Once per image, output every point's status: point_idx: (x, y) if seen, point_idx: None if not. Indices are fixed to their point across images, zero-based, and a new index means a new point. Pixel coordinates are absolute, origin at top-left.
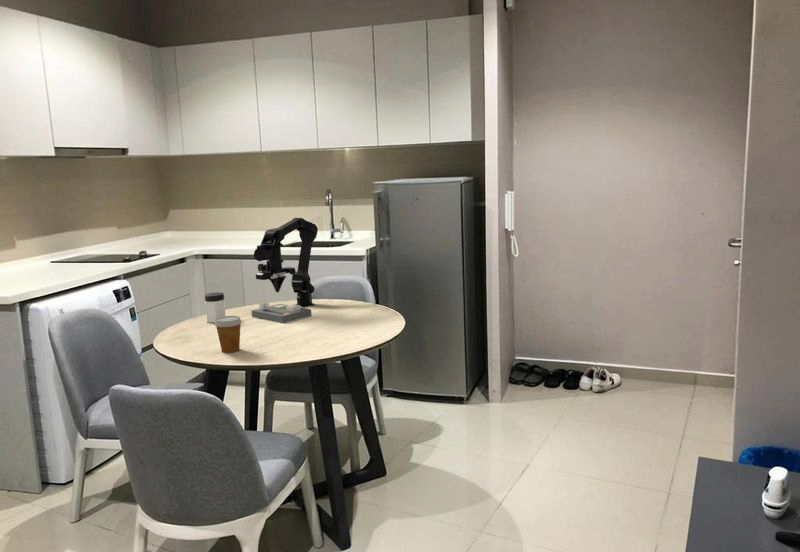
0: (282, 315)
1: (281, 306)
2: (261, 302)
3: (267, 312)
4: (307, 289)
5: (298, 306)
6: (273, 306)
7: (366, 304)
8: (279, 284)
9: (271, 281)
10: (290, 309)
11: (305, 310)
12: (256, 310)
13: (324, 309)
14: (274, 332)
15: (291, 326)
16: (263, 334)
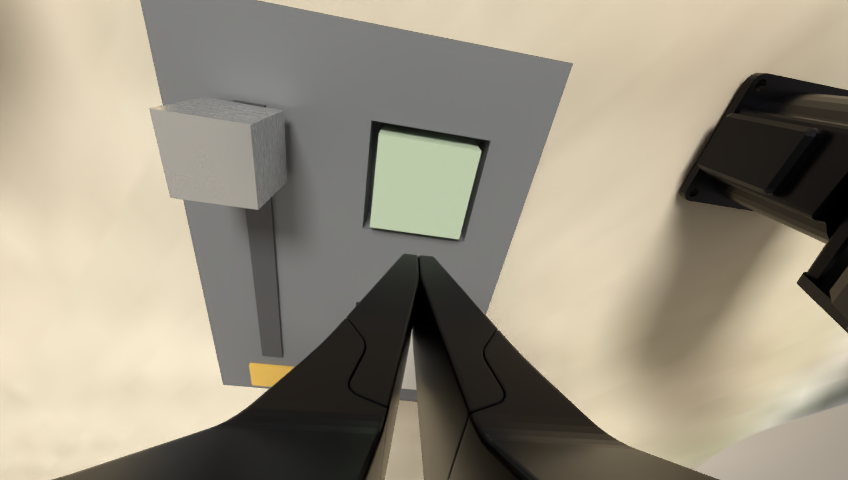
0: (240, 373)
1: (419, 218)
2: (185, 126)
3: (219, 232)
4: (838, 322)
5: (409, 384)
6: (386, 141)
7: (741, 430)
8: (423, 429)
9: (253, 428)
10: None
11: (413, 399)
12: (184, 52)
13: (614, 342)
14: (117, 411)
15: (237, 408)
16: (55, 398)
